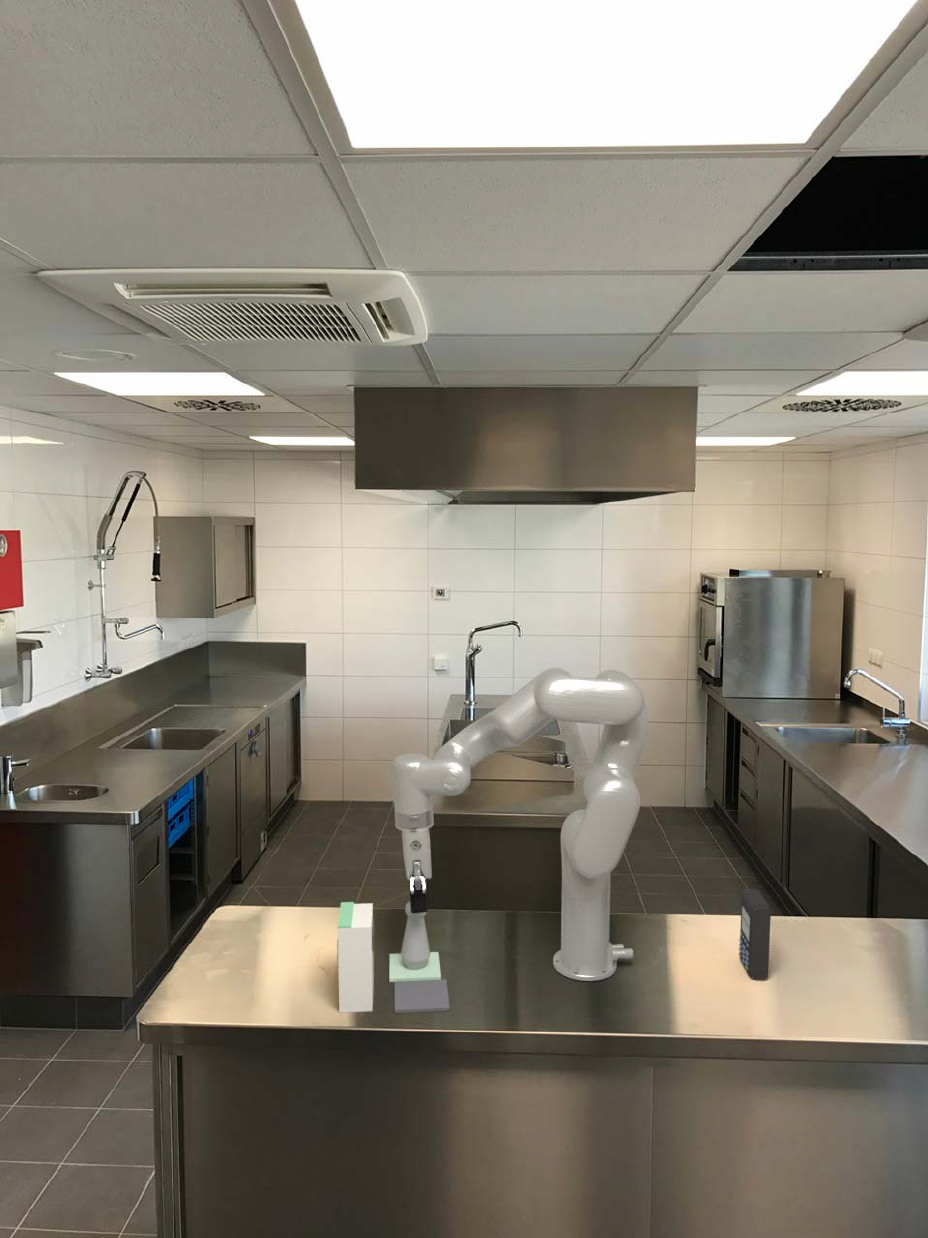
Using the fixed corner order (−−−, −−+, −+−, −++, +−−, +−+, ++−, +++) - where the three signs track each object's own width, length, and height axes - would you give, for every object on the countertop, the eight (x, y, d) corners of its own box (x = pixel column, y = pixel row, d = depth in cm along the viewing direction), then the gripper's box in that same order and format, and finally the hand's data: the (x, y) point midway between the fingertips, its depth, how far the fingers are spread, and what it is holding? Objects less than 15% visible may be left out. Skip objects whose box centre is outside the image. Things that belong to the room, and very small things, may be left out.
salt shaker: (425, 974, 172) (426, 910, 171) (397, 970, 173) (398, 907, 172) (432, 959, 178) (433, 898, 176) (405, 956, 179) (406, 895, 178)
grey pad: (446, 982, 170) (446, 979, 170) (449, 1010, 160) (449, 1007, 160) (394, 984, 169) (394, 981, 169) (394, 1013, 160) (394, 1010, 160)
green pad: (438, 954, 181) (438, 952, 181) (440, 979, 171) (440, 977, 171) (389, 956, 180) (389, 954, 180) (389, 982, 170) (389, 979, 170)
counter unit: (375, 982, 170) (374, 901, 168) (374, 1011, 160) (373, 925, 158) (340, 984, 170) (339, 902, 168) (337, 1012, 160) (336, 926, 158)
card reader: (736, 957, 180) (739, 887, 178) (756, 958, 179) (759, 887, 178) (748, 981, 171) (751, 906, 169) (769, 981, 170) (772, 907, 169)
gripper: (435, 831, 164) (439, 919, 166) (431, 802, 181) (435, 882, 183) (395, 834, 164) (399, 922, 165) (395, 805, 181) (399, 885, 183)
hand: (418, 901), depth 174 cm, fingers open, 9 cm apart
